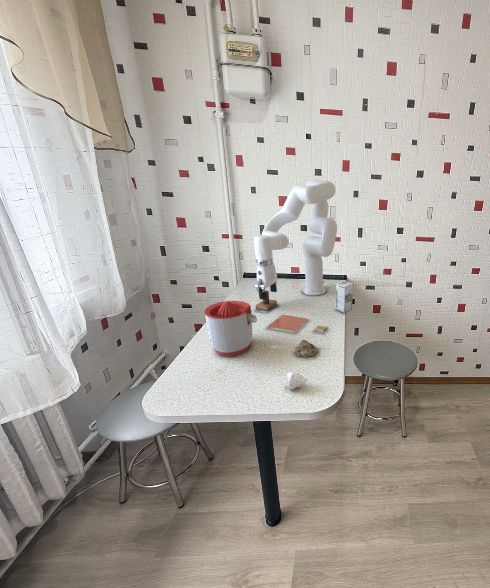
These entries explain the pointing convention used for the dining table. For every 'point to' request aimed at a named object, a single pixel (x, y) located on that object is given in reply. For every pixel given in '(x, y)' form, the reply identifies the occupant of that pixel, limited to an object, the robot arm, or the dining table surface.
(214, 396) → the dining table surface
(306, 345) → the mineral rock
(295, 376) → the garlic bulb
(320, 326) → the cork chip
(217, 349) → the citrus juicer
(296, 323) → the tile
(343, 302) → the syrup box
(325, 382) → the dining table surface
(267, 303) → the brush
